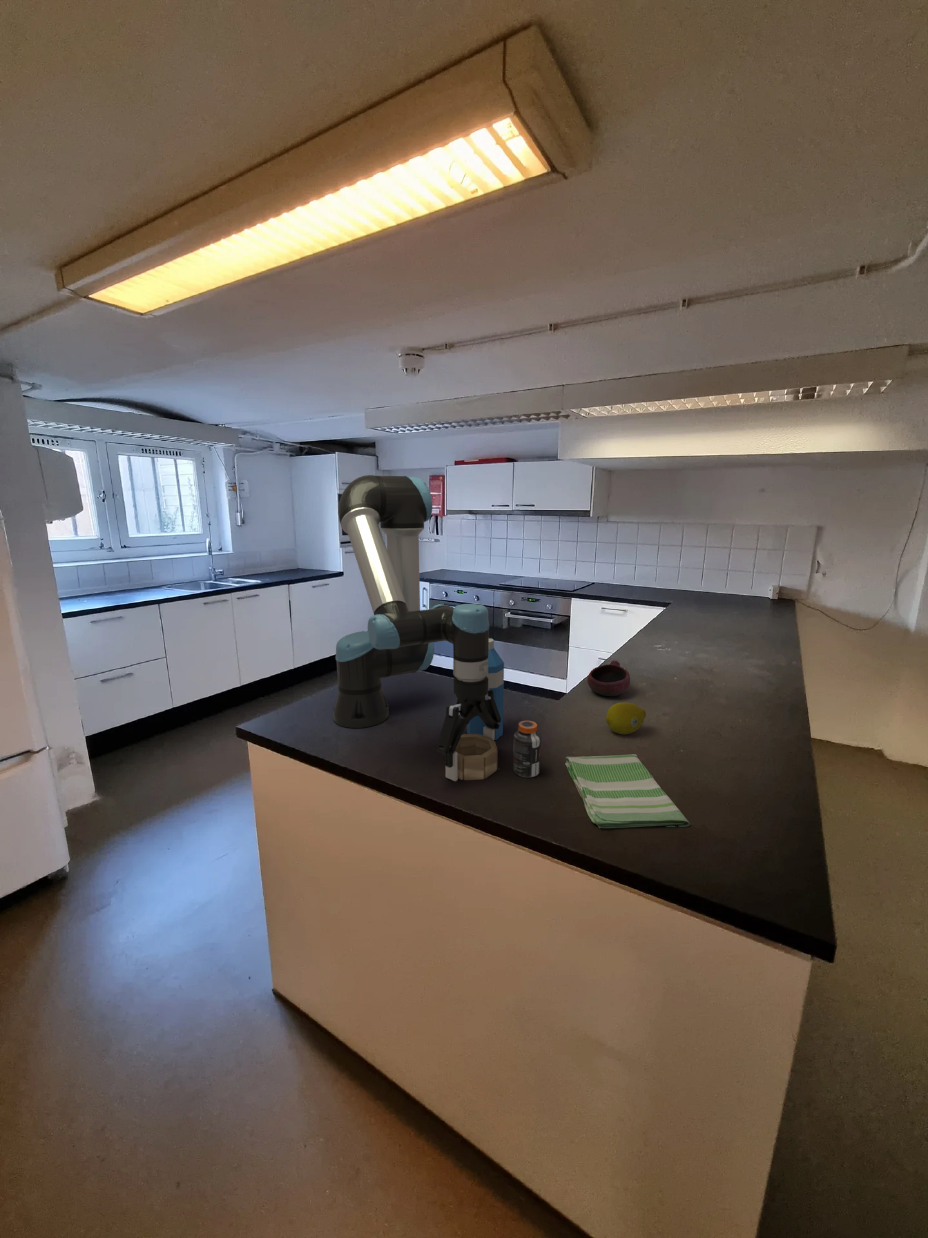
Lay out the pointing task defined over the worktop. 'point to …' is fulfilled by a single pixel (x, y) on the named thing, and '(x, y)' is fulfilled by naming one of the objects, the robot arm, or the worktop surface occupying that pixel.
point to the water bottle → (497, 686)
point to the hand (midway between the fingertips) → (471, 766)
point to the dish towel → (622, 793)
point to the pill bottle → (527, 750)
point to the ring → (476, 757)
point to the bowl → (609, 679)
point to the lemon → (625, 717)
